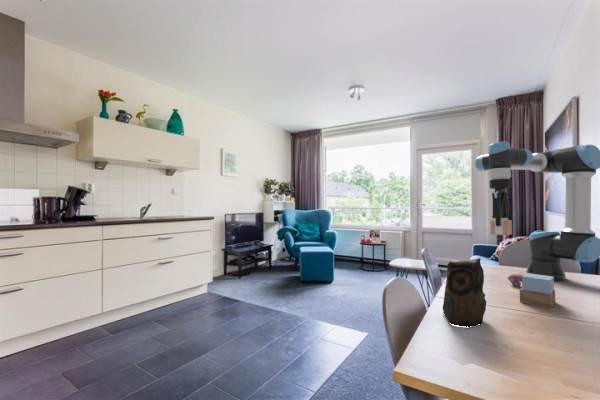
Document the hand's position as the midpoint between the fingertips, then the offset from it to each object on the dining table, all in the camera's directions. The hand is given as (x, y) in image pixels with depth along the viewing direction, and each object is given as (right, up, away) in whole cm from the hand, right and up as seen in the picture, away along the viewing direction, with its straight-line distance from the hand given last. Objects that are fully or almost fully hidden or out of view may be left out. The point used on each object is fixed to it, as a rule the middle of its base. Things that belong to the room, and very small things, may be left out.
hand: (501, 233), depth 120 cm
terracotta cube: (0, 0, 0) cm, 0 cm away
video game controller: (+15, -25, +8) cm, 31 cm away
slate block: (+5, -20, -13) cm, 24 cm away
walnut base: (+5, -25, -13) cm, 28 cm away
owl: (-33, -25, -29) cm, 50 cm away
